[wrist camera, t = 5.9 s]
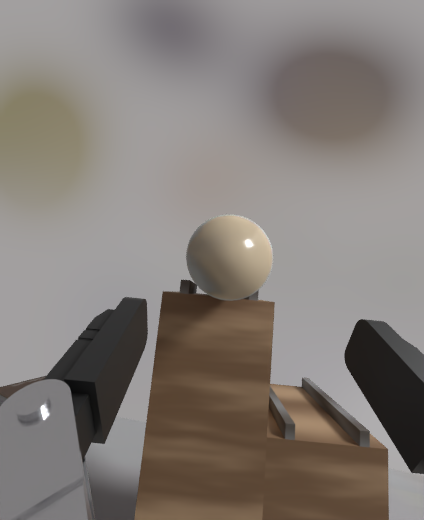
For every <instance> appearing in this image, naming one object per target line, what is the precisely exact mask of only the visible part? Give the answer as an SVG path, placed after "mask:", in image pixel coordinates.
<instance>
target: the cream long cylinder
mask: <svg viewBox="0 0 424 520" xmlns="http://www.w3.org/2000/svg"><path fill="white" fill-rule="evenodd" d="M186 255H187V256H186V260H187V266H188V270H189V273H190V275H191V277H192V279H193V281H194V282H195V283H196V285H197V286H198V287H199V288H200V289H201V290H202V291H204V292H205V293H207V294H208V295H210V296H212V297H214V298H217V299H221V300H230V301H233V300H240V299H244V298H246V297H249V296H251V295H252V294H254V293H255V292H257V291H258V290H259V289H260V288H261V287H262V286H263V285H264V284H265V282H266V281H267V279H268V277H269V275H270V273H271V270H272V266H273V251H272V246H271V244H270V241H269V239H268V237H267V235H266V234H265V232H264V231H263V230H262V229H261V228H260V227H259V226H258V225H257V224H256V223H254V222H253V221H251V220H249V219H247V218H245V217H242V216H238V215H221V216H217V217H214V218H211V219H210V220H207V221H206V222H205V223H203V224H202V225H201V226H199V227H198V229H197V230H196V231H195V232H194V234H193V235H192V237H191V239H190V241H189V244H188V248H187V254H186Z"/></svg>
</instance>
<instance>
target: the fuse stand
mask: <svg viewBox="0 0 424 520" xmlns="http://www.w3.org/2000/svg"><path fill="white" fill-rule="evenodd" d="M196 289H197V285H196V284H195V283H193V282H192V281H190V280H181V286H180V292H163V294H162V303H161V310H160V318H159V327H158V335H157V343H156V350H155V358H154V367H153V375H152V382H151V390H150V399H149V406H148V414H147V423H146V431H145V439H144V447H143V455H142V463H141V471H140V479H139V487H138V495H137V503H136V511H135V519H134V520H389V507H388V449H387V448H386V447H385V446H384V445H383V444H381V443H380V442H379V441H378V440H377V439H376V438H375V437H373V436H372V435H371V434H370V431H369V430H367V429H366V428H365V427H364V426H363V425H362V424H360V423H359V422H358V421H357V420H356V419H355V418H354V417H352V416H351V415H350V414H349V413H348V412H347V411H345V410H344V409H343V408H342V407H341V406H340V405H339V404H337V403H336V402H335V401H334V400H333V399H332V398H330V397H329V396H328V395H327V394H326V393H325V392H323V391H322V390H321V389H320V388H319V387H318V386H317V385H315V384H314V383H313V382H312V381H311V380H310V379H308V378H302V387H297V386H286V385H276V384H270V374H271V356H272V338H273V321H274V302H269V301H263V300H258V291H257V292H255V293H254V294H252V295H251V296H249V297H246V298H244V299H240V300H233V301H230V300H221V299H217V298H214V297H212V296H210V295H207V294H197V293H196Z"/></svg>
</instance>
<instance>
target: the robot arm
mask: <svg viewBox="0 0 424 520" xmlns="http://www.w3.org/2000/svg"><path fill="white" fill-rule="evenodd" d="M147 329H148V328H147V302H146V299H139V298H129V297H125V298H123V299H122V301H121V302H120V304H119V305H118V306H117V308H116V309H115V310H110V309H108V310H106V311H105V312H103V313H102V314H100V315H98V316H97V317H95V318H94V319H93V321H92V322H91V323H90V324H89V325H88V327H87V328H86V330H85V331H83V333H82V334H81V335H80V336H79V338H78V340H76V341H75V342H74V343H73V345H72V346H71V347H70V348H69V349H68V351H67V352H66V353H65V354H64V356H63V357H62V358H61V359H60V360H59V362H58V363H57V364H56V365H55V366H54V367H53V369H52V370H51V371H50V372H49V374H48V375H47V376H46V377H45V378H44V379H43V380H42V381H38V382H35V383H32V384H30V385H27V386H25V387H24V388H22V389H20V390H18V391H17V392H15V393H14V394H13V395H11V396H10V397H9V398H8V399H7V400H6V401H5V402H3V404H2V405H0V520H96V519H95V513H94V507H93V501H92V495H91V489H90V483H89V477H88V470H87V464H86V459H85V455H86V453H87V451H88V448H89V446H90V444H91V442H92V443H102V444H105V441H106V439H107V436H108V434H109V432H110V429H111V427H112V425H113V422H114V420H115V418H116V415H117V413H118V410H119V408H120V405H121V403H122V401H123V399H124V396H125V394H126V391H127V389H128V387H129V384H130V382H131V380H132V377H133V375H134V372H135V370H136V368H137V365H138V363H139V361H140V358H141V356H142V353H143V351H144V348H145V345H146V341H147V334H148V333H147V331H148V330H147ZM345 363H346V366H347V368H348V370H349V371H350V373H351V375H352V376H353V378H354V380H355V381H356V383H357V385H358V386H359V388H360V389H361V391H362V393H363V394H364V396H365V397H366V399H367V401H368V402H369V404H370V406H371V407H372V409H373V411H374V412H375V414H376V415H377V417H378V419H379V420H380V422H381V423H382V425H383V427H384V428H385V430H386V432H387V433H388V435H389V437H390V438H391V440H392V442H393V443H394V445H395V446H396V448H397V450H398V451H399V453H400V454H401V456H402V458H403V459H404V461H405V463H406V464H407V466H408V468H409V469H410V471H411V472H412V473H420V474H424V355H423V354H422V353H421V352H420V351H419V350H418V349H417V348H416V347H414V346H413V345H411V344H410V343H408V342H407V341H405V340H404V339H402V338H401V337H400V336H399V335H398V334H397V333H396V332H395V331H394V330H393V329H392V328H391V327H390V326H389V325H388V324H387V323H385V322H382V321H373V320H363V319H361V320H359V321H358V322H357V323H356V325H355V328H354V330H353V333H352V335H351V337H350V340H349V342H348V345H347V347H346V350H345Z"/></svg>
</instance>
